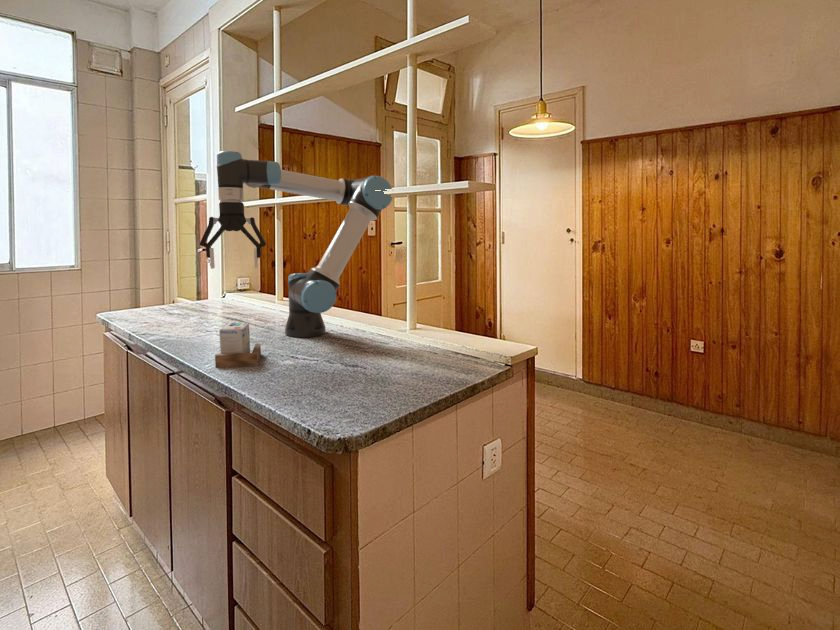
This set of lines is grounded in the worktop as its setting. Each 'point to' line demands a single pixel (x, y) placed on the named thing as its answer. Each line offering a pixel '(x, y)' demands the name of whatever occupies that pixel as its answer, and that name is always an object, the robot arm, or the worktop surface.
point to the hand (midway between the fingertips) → (234, 268)
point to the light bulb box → (235, 338)
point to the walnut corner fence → (239, 358)
